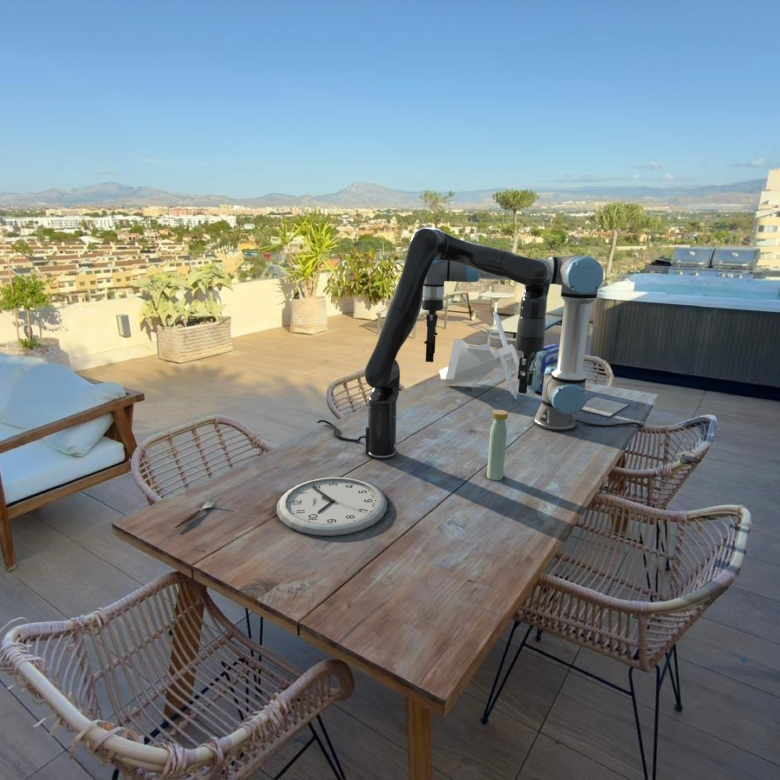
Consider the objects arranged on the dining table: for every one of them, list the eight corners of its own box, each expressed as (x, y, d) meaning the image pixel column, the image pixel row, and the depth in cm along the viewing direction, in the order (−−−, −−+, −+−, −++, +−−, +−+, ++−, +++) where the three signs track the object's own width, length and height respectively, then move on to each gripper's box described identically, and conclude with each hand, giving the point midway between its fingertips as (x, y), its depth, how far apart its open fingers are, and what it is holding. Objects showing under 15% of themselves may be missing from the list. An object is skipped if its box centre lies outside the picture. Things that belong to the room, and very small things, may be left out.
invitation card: (608, 416, 214) (573, 407, 224) (608, 416, 214) (573, 408, 224) (628, 404, 229) (594, 396, 238) (628, 405, 229) (594, 397, 238)
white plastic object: (461, 429, 252) (437, 405, 227) (444, 352, 274) (420, 323, 250) (535, 404, 240) (518, 377, 215) (510, 326, 262) (492, 293, 237)
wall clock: (392, 527, 129) (268, 531, 127) (391, 533, 130) (269, 537, 127) (383, 473, 158) (282, 475, 155) (383, 478, 158) (282, 480, 156)
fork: (171, 528, 130) (170, 521, 130) (212, 499, 145) (211, 492, 144) (179, 530, 129) (178, 523, 129) (220, 500, 144) (219, 494, 143)
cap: (508, 420, 153) (508, 415, 152) (493, 419, 153) (493, 414, 153) (506, 415, 157) (506, 410, 157) (491, 414, 157) (491, 409, 157)
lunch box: (543, 396, 238) (548, 352, 231) (522, 391, 245) (526, 347, 239) (570, 385, 255) (575, 343, 249) (550, 381, 262) (555, 340, 256)
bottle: (503, 480, 159) (509, 416, 152) (487, 479, 159) (492, 415, 153) (501, 473, 163) (507, 411, 157) (486, 472, 163) (491, 410, 157)
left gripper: (521, 327, 153) (516, 381, 157) (511, 336, 140) (506, 393, 145) (548, 330, 150) (542, 384, 155) (540, 339, 137) (534, 397, 142)
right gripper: (424, 293, 195) (422, 349, 202) (419, 302, 172) (417, 365, 178) (444, 294, 195) (441, 350, 201) (442, 303, 171) (439, 366, 177)
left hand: (525, 388), depth 150 cm, fingers open, 8 cm apart
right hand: (430, 357), depth 190 cm, fingers open, 13 cm apart
